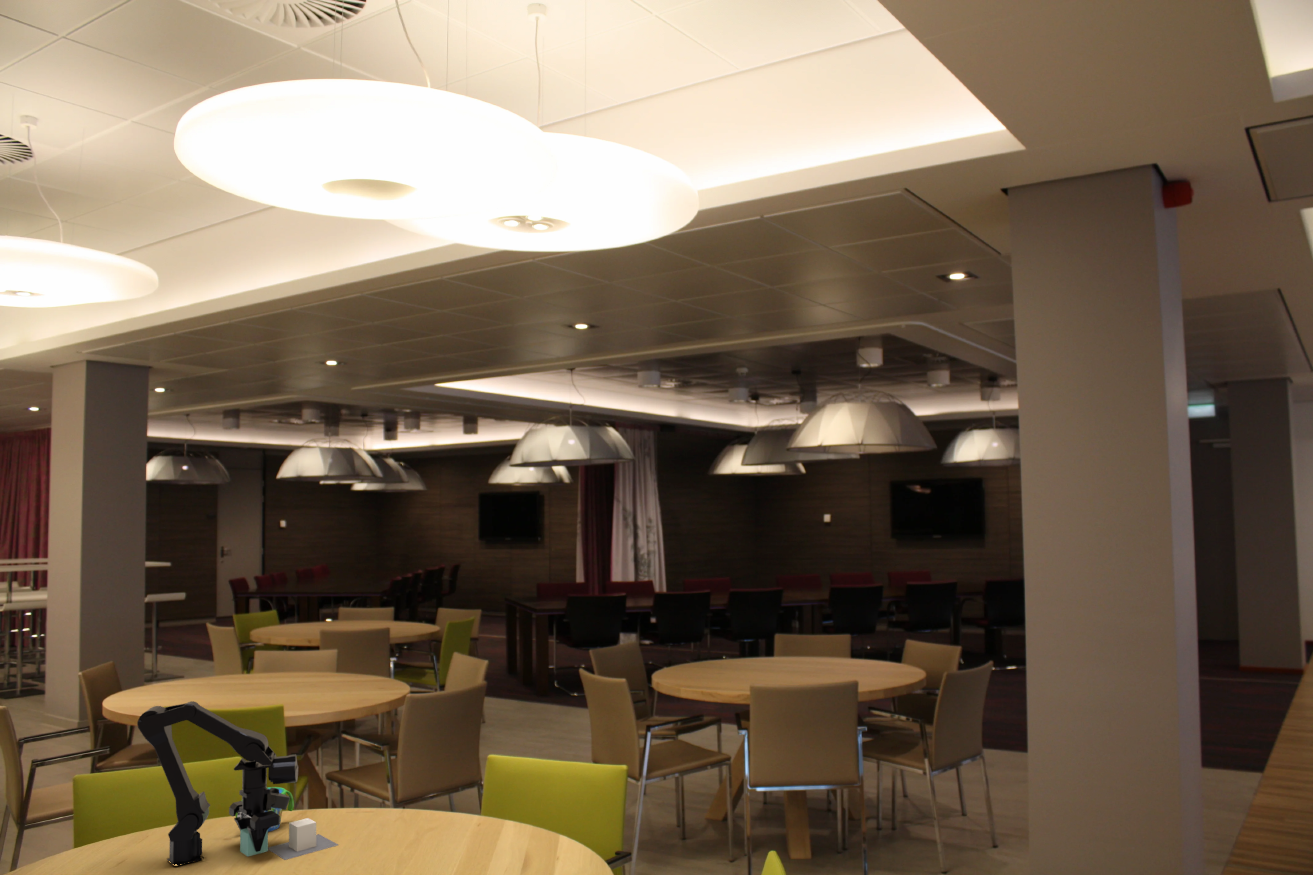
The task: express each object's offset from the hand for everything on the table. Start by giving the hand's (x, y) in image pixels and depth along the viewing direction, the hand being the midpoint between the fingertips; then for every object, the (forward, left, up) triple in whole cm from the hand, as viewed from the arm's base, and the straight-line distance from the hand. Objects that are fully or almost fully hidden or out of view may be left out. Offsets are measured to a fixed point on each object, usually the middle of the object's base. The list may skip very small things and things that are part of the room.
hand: (254, 848), depth 239 cm
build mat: (+10, -6, -1) cm, 12 cm away
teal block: (0, 0, -1) cm, 1 cm away
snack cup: (+9, +16, -2) cm, 18 cm away
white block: (+10, -6, -1) cm, 12 cm away
